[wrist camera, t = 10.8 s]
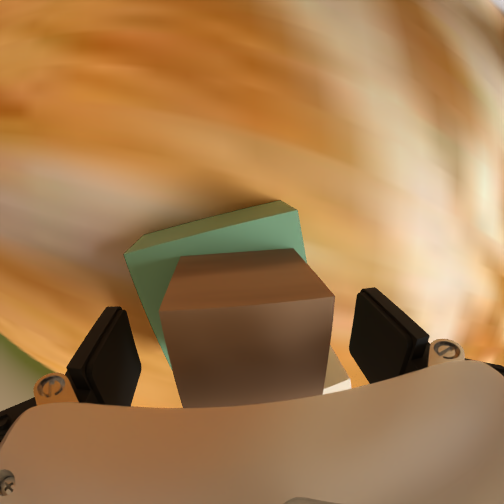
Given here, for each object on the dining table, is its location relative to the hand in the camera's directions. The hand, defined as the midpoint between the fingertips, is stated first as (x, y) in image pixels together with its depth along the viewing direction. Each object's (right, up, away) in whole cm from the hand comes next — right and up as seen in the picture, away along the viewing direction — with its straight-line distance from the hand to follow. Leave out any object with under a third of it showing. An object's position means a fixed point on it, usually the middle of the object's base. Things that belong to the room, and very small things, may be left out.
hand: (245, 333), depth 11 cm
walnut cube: (0, +1, +2) cm, 3 cm away
